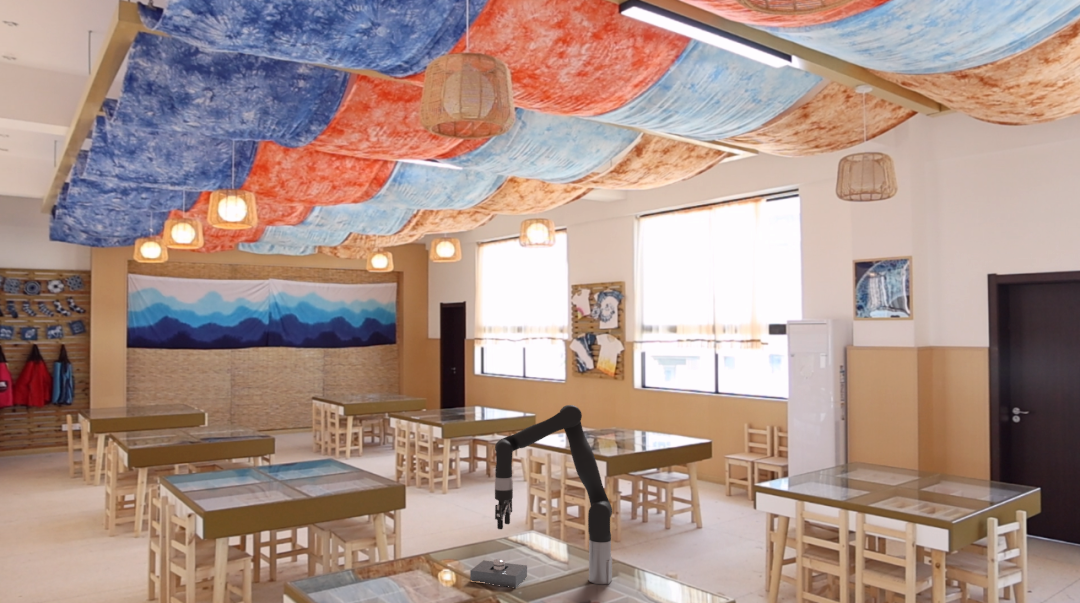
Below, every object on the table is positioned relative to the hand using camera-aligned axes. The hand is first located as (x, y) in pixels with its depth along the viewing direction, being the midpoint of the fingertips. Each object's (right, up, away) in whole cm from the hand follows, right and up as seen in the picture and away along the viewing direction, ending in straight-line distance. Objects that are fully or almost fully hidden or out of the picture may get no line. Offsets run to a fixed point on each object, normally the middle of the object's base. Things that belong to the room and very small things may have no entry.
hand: (503, 526), depth 314 cm
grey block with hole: (-2, -22, -1) cm, 22 cm away
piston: (-2, -22, -1) cm, 22 cm away
